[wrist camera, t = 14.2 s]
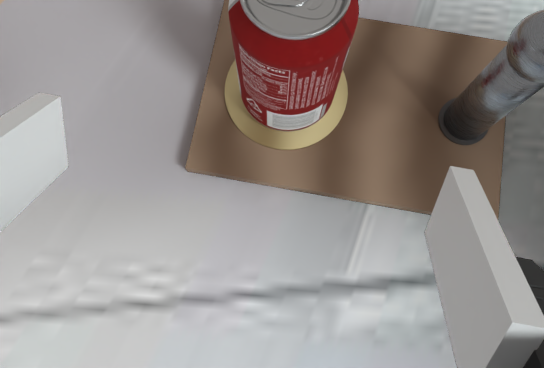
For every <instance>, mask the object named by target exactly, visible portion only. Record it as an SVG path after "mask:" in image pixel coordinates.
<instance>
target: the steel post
mask: <svg viewBox="0 0 544 368" xmlns="http://www.w3.org/2000/svg"><path fill="white" fill-rule="evenodd" d="M542 87H544V10H540V11H537V12H535V13H532V14H530V15H529V16H527V17H526V18H524V19H523V20H522V21H521V22H519V23H518V24H517V26H516V27H515V28H514V30H513V31H512V33H511V35H510V37H509V39H508V42H507V45H506V46H505V47H504V48H503V49H502V50H501V51H500V52H499V53H498V54H497V55H496V57H495V58H494V59H493V60H492V61H491V62H490V63H489V64H488V65H487V66H486V67H485V68H484V69H483V70H482V71H481V73H480V74H479V75H478V76H477V77H476V78H475V79H474V80H473V81H472V82H471V83H470V84H469V85H468V86H467V87H466V88H465V90H464V91H463V92H462V93H461V94H460V95H459V96H458V97H457V98H456V99H455V100H454V101H453V102H452V103H451V104H450V105H449V107H448V108H447V109H446V110H445V113H444V117H443V121H444V125H445V128H446V130H447V131H448V132H449V133H450V134H451V135H452V136H453V137H455V138H457V139H460V140H472V139H475V138H477V137H478V136H480V135H481V134H482V133H484V132H485V131H486V130H487V129H489V128H490V127H491V126H493V125H494V124H495V123H497V122H498V121H499V120H501V119H502V118H503V117H504V116H506V115H507V114H508V113H510V112H511V111H512V110H514V109H515V108H516V107H518V106H519V105H520V104H521V103H523V102H524V101H525V100H527V99H528V98H529V97H531V96H532V95H533V94H535V93H536V92H537V91H538V90H540V89H541V88H542Z"/></svg>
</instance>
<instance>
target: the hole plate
mask: <svg viewBox="0 0 544 368" xmlns="http://www.w3.org/2000/svg"><path fill="white" fill-rule="evenodd" d="M228 6H229V0H224V4H223V8H222V13H221V17H220V21H219V25H218V30H217V34H216V38H215V42H214V47H213V51H212V55H211V60H210V64H209V68H208V72H207V77H206V81H205V85H204V90H203V94H202V98H201V102H200V107H199V111H198V115H197V119H196V124H195V128H194V132H193V137H192V141H191V145H190V149H189V154H188V158H187V162H186V167H185V168H186V170H187V171H188V172H194V173H199V174H205V175H211V176H216V177H222V178H227V179H233V180H239V181H244V182H250V183H255V184H261V185H267V186H272V187H278V188H283V189H289V190H295V191H300V192H306V193H312V194H317V195H323V196H328V197H334V198H340V199H345V200H351V201H356V202H362V203H368V204H373V205H379V206H384V207H390V208H396V209H401V210H407V211H412V212H418V213H424V214H429V215H431V214H432V211H433V209H434V206H435V204H436V201H437V198H438V196H439V193H440V191H441V188H442V186H443V183H444V180H445V178H446V175H447V173H448V170H449V167H450V166H454V167H460V168H465V169H471V170H474V172H475V174H476V176H477V178H478V180H479V182H480V184H481V186H482V188H483V190H484V192H485V195H486V197H487V199H488V201H489V203H490V205H491V207H492V209H493V211H494V213H495V215H496V217H497V220H498V216H499V202H500V188H501V175H502V161H503V147H504V133H505V119H506V116H504V117H503V118H502V119H501V120H499V121H498V122H497V123H495V124H494V125H493V126H491V127H490V128H489V129H487V130H486V131H485V132H484V133H482V134H481V135H480V136H478V137H477V138H475V139H472V140H460V139H457V138H455V137H453V136H452V135H451V134H450V133H449V132H448V131H447V130H446V128H445V125H444V121H443V117H444V113H445V110H446V109H447V108H448V107H449V105H450V104H451V103H452V102H453V101H454V100H455V99H456V98H457V97H458V96H459V95H460V94H461V93H462V92H463V91H464V90H465V88H466V87H467V86H468V85H469V84H470V83H471V82H472V81H473V80H474V79H475V78H476V77H477V76H478V75H479V74H480V73H481V71H482V70H483V69H484V68H485V67H486V66H487V65H488V64H489V63H490V62H491V61H492V60H493V59H494V58H495V57H496V55H497V54H498V53H499V52H500V51H501V50H502V49H503V48H504V47H505V46H506V45H507V42H506V41H500V40H494V39H488V38H481V37H475V36H469V35H463V34H457V33H451V32H444V31H438V30H432V29H426V28H420V27H414V26H407V25H401V24H395V23H389V22H383V21H377V20H370V19H364V18H358V22H357V26H356V29H355V33H354V36H353V39H352V42H351V45H350V48H349V51H348V55H347V58H346V61H345V64H344V67H343V70H342V73H341V77H340V80H339V83H338V86H337V89H336V92H335V95H334V98H333V101H332V104H331V106H330V108H329V110H328V111H327V113H326V114H325V115H324V116H323V117H322V119H320V120H319V121H318V122H317V123H315V124H314V125H312V126H310V127H308V128H306V129H303V130H299V131H293V132H283V131H277V130H273V129H270V128H268V127H265V126H263V125H262V124H260V123H259V122H257V121H256V120H255V119H254V118H253V117H252V116H251V115H250V114H249V113H248V111H247V110H246V108H245V106H244V104H243V101H242V98H241V94H240V87H239V81H238V74H237V68H236V61H235V54H234V48H233V41H232V35H231V28H230V21H229V14H228Z"/></svg>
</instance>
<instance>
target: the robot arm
mask: <svg viewBox="0 0 544 368" xmlns="http://www.w3.org/2000/svg"><path fill="white" fill-rule="evenodd" d="M68 167H69V165H68V156H67V148H66V139H65V131H64V122H63V113H62V105H61V96H56V95H50V94H45V93H37V94H35V95H34V96H32V97H31V98H29V99H27V100H26V101H24V102H23V103H21V104H19V105H18V106H16V107H15V108H13V109H11V110H10V111H8V112H7V113H5V114H3V115H2V116H0V232H1V231H2V230H3V229H4V228H5V227H6V226H7V225H9V224H10V223H11V222H12V221H13V220H14V219H15V218H16V217H17V216H18V215H19V214H20V213H21V212H22V211H23V210H24V209H25V208H26V207H27V206H28V205H29V204H30V203H31V202H32V201H33V200H35V199H36V198H37V197H38V196H39V195H40V194H41V193H42V192H43V191H44V190H45V189H46V188H47V187H48V186H49V185H50V184H51V183H52V182H53V181H54V180H55V179H56V178H57V177H58V176H59V175H60V174H62V173H63V172H64V171H65V170H66V169H67V168H68ZM424 233H425V237H426V241H427V245H428V250H429V254H430V258H431V262H432V266H433V270H434V274H435V279H436V283H437V287H438V291H439V295H440V299H441V304H442V308H443V312H444V316H445V320H446V324H447V328H448V333H449V337H450V341H451V345H452V349H453V353H454V358H455V362H456V366H457V368H544V271H543V270H542V269H541V268H540V267H539V266H538V265H537V264H535V263H534V262H533V261H532V260H529V259H524V258H519V257H515V255H514V253H513V251H512V249H511V247H510V245H509V242H508V240H507V238H506V236H505V234H504V232H503V230H502V228H501V226H500V224H499V222H498V220H497V217H496V215H495V213H494V211H493V209H492V207H491V205H490V203H489V201H488V199H487V197H486V195H485V192H484V190H483V188H482V186H481V184H480V182H479V180H478V178H477V176H476V174H475V172H474V170H471V169H465V168H460V167H454V166H450V167H449V170H448V173H447V175H446V178H445V180H444V183H443V186H442V188H441V191H440V193H439V196H438V198H437V201H436V204H435V206H434V209H433V211H432V214H431V217H430V219H429V222H428V224H427V227H426V230H425V232H424Z"/></svg>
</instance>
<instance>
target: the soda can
mask: <svg viewBox="0 0 544 368" xmlns="http://www.w3.org/2000/svg"><path fill="white" fill-rule="evenodd" d="M228 14H229V21H230V28H231V35H232V41H233V48H234V54H235V61H236V68H237V74H238V81H239V87H240V94H241V98H242V101H243V104H244V106H245V108H246V110H247V111H248V113H249V114H250V115H251V116H252V117H253V118H254V119H255V120H256V121H257V122H259V123H260V124H262V125H263V126H265V127H268V128H270V129H273V130H277V131H283V132H293V131H299V130H303V129H306V128H308V127H310V126H312V125H314V124H315V123H317V122H318V121H319V120H320V119H322V117H323V116H324V115H325V114H326V113H327V111H328V110H329V108H330V106H331V104H332V101H333V98H334V95H335V92H336V89H337V86H338V83H339V80H340V77H341V73H342V70H343V67H344V64H345V61H346V58H347V55H348V51H349V48H350V45H351V42H352V39H353V36H354V33H355V29H356V26H357V22H358V15H359V6H358V0H229V6H228Z"/></svg>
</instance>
